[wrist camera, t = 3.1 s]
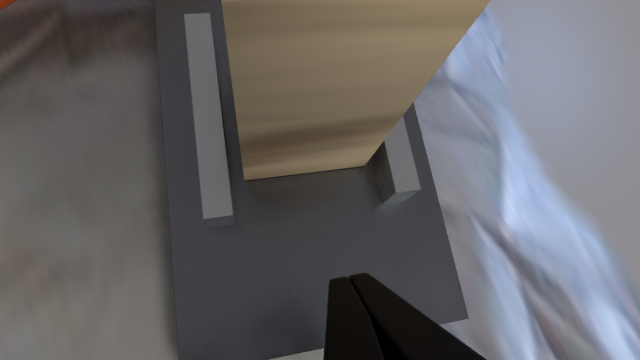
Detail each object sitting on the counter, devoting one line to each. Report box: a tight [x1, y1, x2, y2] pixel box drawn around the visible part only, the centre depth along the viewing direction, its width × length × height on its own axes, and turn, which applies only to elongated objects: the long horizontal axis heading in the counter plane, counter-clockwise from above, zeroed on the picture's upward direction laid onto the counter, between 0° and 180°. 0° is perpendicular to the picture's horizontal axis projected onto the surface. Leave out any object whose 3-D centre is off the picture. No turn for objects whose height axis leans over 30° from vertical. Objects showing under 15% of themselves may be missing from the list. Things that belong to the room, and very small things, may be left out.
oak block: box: [221, 0, 490, 180], centre depth 15 cm, size 6×6×12 cm
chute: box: [154, 0, 469, 360], centre depth 20 cm, size 22×13×4 cm, turn 10°
